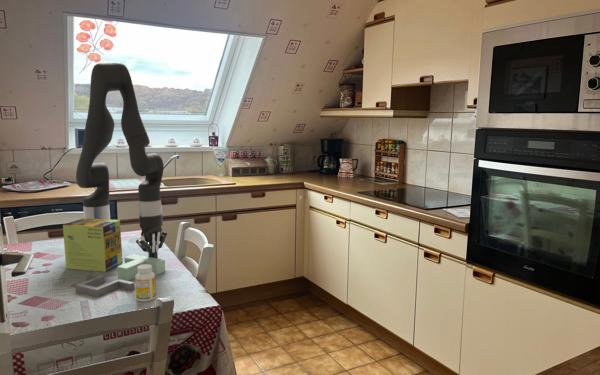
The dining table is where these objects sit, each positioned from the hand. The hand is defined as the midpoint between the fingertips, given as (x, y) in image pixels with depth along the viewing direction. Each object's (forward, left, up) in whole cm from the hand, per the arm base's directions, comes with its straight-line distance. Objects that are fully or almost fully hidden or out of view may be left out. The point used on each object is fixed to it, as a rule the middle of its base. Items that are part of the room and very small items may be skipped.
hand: (153, 262), depth 167 cm
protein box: (-19, -8, -2) cm, 21 cm away
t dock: (0, -23, -2) cm, 23 cm away
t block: (0, -8, -2) cm, 8 cm away
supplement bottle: (+18, -22, -2) cm, 28 cm away
